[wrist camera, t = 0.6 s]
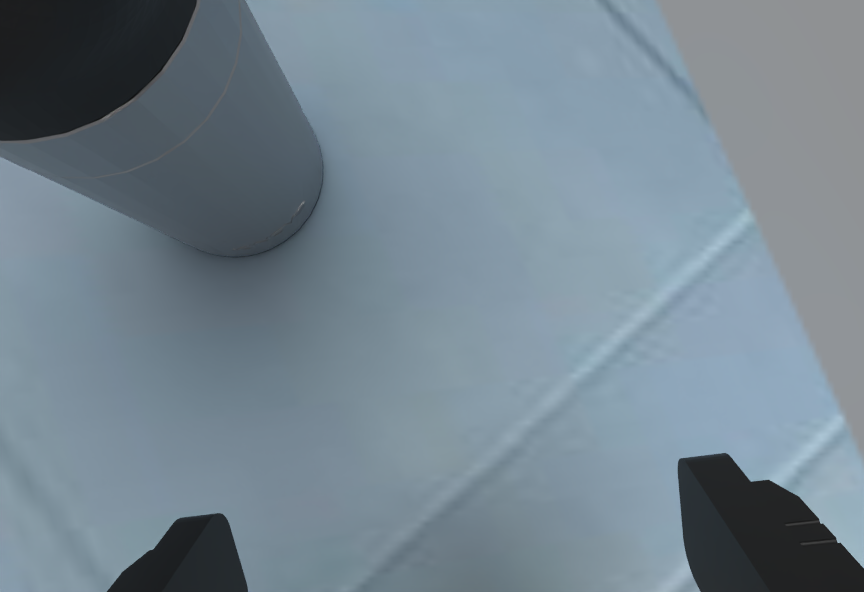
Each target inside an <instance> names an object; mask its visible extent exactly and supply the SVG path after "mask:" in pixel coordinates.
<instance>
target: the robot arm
mask: <svg viewBox="0 0 864 592" xmlns="http://www.w3.org/2000/svg"><path fill="white" fill-rule="evenodd" d="M0 157H2V158H4V159H6V160H8V161H11V162H13V163H15V164H17V165H19V166H21V167H23V168H26V169H28V170H31V171H33V172H35V173H37V174H39V175H41V176H44V177H46V178H48V179H50V180H52V181H54V182H56V183H58V184H60V185H63V186H65V187H67V188H69V189H71V190H73V191H75V192H77V193H80V194H82V195H84V196H86V197H88V198H90V199H92V200H94V201H97V202H99V203H101V204H103V205H105V206H107V207H109V208H111V209H114V210H116V211H118V212H120V213H122V214H124V215H126V216H128V217H130V218H133V219H135V220H137V221H139V222H141V223H143V224H145V225H147V226H150V227H152V228H154V229H156V230H158V231H160V232H162V233H164V234H166V235H168V236H170V237H173V238H175V239H177V240H179V241H181V242H183V243H185V244H188V245H190V246H192V247H194V248H196V249H199V250H202V251H205V252H207V253H210V254H213V255H220V256H228V257H238V256H250V255H253V254H257V253H260V252H264V251H267V250H269V249H271V248H273V247H275V246H277V245H279V244H280V243H282V242H284V241H286V240H287V239H288V238H289V237H290V236H291V235H293V234H294V233H295V232H296V231H297V230H299V228H300V227H301V226H302V225H303V223H304V222H305V221H306V219H307V218H308V217H309V216H310V214H311V212H312V210H313V208H314V206H315V204H316V202H317V200H318V197H319V193H320V189H321V185H322V176H323V162H322V156H321V151H320V146H319V144H318V141H317V139H316V137H315V134H314V132H313V130H312V128H311V126H310V124H309V122H308V120H307V118H306V116H305V114H304V113H303V111H302V109H301V106H300V104H299V102H298V100H297V98H296V96H295V95H294V93H293V91H292V89H291V87H290V85H289V83H288V81H287V79H286V77H285V75H284V74H283V72H282V70H281V68H280V66H279V64H278V62H277V60H276V58H275V56H274V54H273V53H272V51H271V49H270V47H269V45H268V43H267V41H266V39H265V37H264V35H263V33H262V32H261V30H260V28H259V26H258V24H257V22H256V20H255V18H254V16H253V14H252V12H251V11H250V9H249V7H248V5H247V3H246V1H245V0H0ZM678 480H679V492H680V504H681V516H682V528H683V539H684V546H685V551H686V555H687V559H688V563H689V566H690V569H691V572H692V574H693V577H694V579H695V581H696V583H697V585H698V587H699V589H700V591H701V592H864V568H863V567H862V566H861V565H860V564H859V563H858V562H857V561H856V559H855V558H854V557H853V556H852V555H851V554H850V553H849V552H848V551H847V550H846V548H845V547H844V546H843V545H842V544H841V543H837V540H836V537H835V536H834V535H833V534H832V533H831V532H830V531H829V530H828V528H827V527H826V526H825V525H824V524H820V521H819V518H818V517H817V516H816V515H815V514H814V513H813V512H812V511H811V510H810V509H809V507H808V506H807V505H806V504H805V503H804V502H803V501H802V500H801V499H800V497H798V496H796V495H795V494H793V493H791V492H789V491H788V490H786V489H784V488H782V487H781V486H779V485H777V484H775V483H773V482H772V481H770V480H763V481H754V482H750V480H749V479H748V478H747V477H746V475H745V474H744V473H743V472H742V470H741V469H740V468H739V467H738V465H737V464H736V463H735V462H734V460H733V459H732V458H731V457H730V456H729V455H728V454H726V453H722V454H714V455H705V456H697V457H689V458H681V459H679V462H678ZM107 592H248V589H247V584H246V580H245V577H244V573H243V570H242V566H241V563H240V559H239V556H238V553H237V549H236V546H235V542H234V539H233V535H232V532H231V529H230V525H229V523H228V520H227V519H226V517H225V516H224V515H223V514H221V513H217V514H209V515H200V516H192V517H184V518H179V519H177V520H176V521H175V522H174V523H173V525H172V526H171V527H170V528H169V530H168V531H167V532H166V534H165V535H164V536H163V538H162V539H161V540H160V542H159V543H158V544H157V546H156V547H155V548H154V549H153V550H149V551H148V552H147V553H146V554H144V555H143V556H142V557H141V558H139V559H138V560H137V561H136V562H134V563H133V564H132V565H131V566H129V567H128V568H127V569H126V570H124V571H123V572H122V573H121V575H120V576H119V577H118V578H117V580H116V581H115V582H114V584H113V585H112V586H111V587H110V589H109V590H108V591H107Z"/></svg>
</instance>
